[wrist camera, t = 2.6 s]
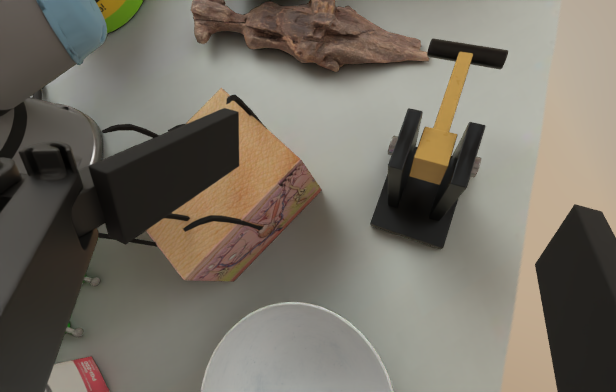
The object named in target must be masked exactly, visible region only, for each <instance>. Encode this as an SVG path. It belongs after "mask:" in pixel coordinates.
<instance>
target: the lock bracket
mask: <svg viewBox="0 0 616 392" xmlns="http://www.w3.org/2000/svg"><path fill="white" fill-rule="evenodd" d="M421 118H422V111H418V110H414V109H408V110H407V113H406V116H405V119H404V122H403V125H402V127H401V130H400V133H399V136H398V137H397V136H393V137H392V140H391V142H390V145H389V149H388V155H392V156H391V159H390V162H389V164H388V175H387V177H386V180H385V183H384V186H383V189H382V192H381V195H380V197H379V200H378V203H377V206H376V209H375V212H374V215H373V217H372V220H371V223H370V224H371V226H373V227H376V228H379V229H382V230H385V231H388V232H391V233H394V234H397V235H400V236H403V237H406V238H408V239H411V240H414V241H417V242H420V243H423V244H426V245H429V246H432V247H435V248H438V249H442V248H443V246H444V243H445V240H446V237H447V233H448V230H449V227H450V224H451V220H452V217H453V214H454V211H455V207H456V204H457V201H458V198H459V196H460V195H461V194H462V193H463V191H464V190H465V189H466V188H467V185H468V182H469V179H470V177H475V176H476V174H477V172H478V169H479V166H480V163H481V158H480V157H477V152H478V149H479V146H480V143H481V139H482V136H483V133H484V129H485V125H481V124H477V123H472V122H469V124H468V126H467V128H466V130H465V132H464V134H463V136H462V138H461V140H460V142H459V144H458V146H457V148H456V150H455V152H454V154H453V156H451V158H450V161H449V165H448V168H447V170H446V172H445V174H444V177H443V179H442V181H441V184H440V185H438V184H435V183H431V182H428V181H424V180H421V179H417V178H414V177H410V176H409V175H410V171H411V167H412V163H413V159H414V156H415V153H416V150H417V147H416V142H417V137H418V132H419V127H420V123H421Z"/></svg>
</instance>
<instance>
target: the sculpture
mask: <svg viewBox="0 0 616 392" xmlns="http://www.w3.org/2000/svg"><path fill="white" fill-rule="evenodd" d="M191 11H192V13H193V16H194V17H193V19H194V22H195V23H194V24H195V27H194V34H195V37H196V39H197V42H198V43H202V44H205V43H207V42H208V41H209V38H210V37H211V35H212V34H214V33H216V32H220V31H233V32H239V33H241V34H243V35H244V38H245V41H246V44H247V46H248V47H249V49H259V48H276V49H281V50H283V51H285V52H287V53H289V54H291V55H292V56H294V57H295V58H296V59H297V60H298V61H300V62H301V63H308V62H315V63H316V64H318V65H320V66H322V67H324V68H327V69H330V70H332V71H335V72H338V71H339V67H342V66H343V65H344V64H362V63H388V62H401V61H406V60H418V61H429V58H428V56H427V53H428V52H423V51H421V50H420V47H421V41H420V40H418V39H416V38H410V37H406V36H403V35H399V34H394V33H390V32H387V31H385V30H384V29H381V28H380V27H378V26H376V25H375V24H373V23H371V22H370V21H368V20H367V19H365V18H364V17H362V16H361V15H359V14H357V12H356V11H355V10H353V9H352V8H351V7H350V6H346V7H345V8H343V7H339V6H338V7H335V0H310V1H309V3H307V4H303V5H299V6H282V5H278V4H276V3H274V2H271V1H268V2H265V3H263V4H261V5H260V6H258V7H256V8H254V9H252V10H251V11H250V12H249V13H247V14H244V15H241V14H238V13H235V12H234V11H232V10H231V9H229V8H228V6H225V1H224V0H193V1H192V6H191Z"/></svg>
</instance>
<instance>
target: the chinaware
mask: <svg viewBox="0 0 616 392" xmlns="http://www.w3.org/2000/svg"><path fill="white" fill-rule="evenodd" d="M200 392H394V391H393V387H392V384H391V381H390V378H389V375H388V373H387V370H386V368H385V366H384V364H383V362H382V360H381V358H380V357H379V355H378V353H377V352H376V350H375V349H374V347H373V346H372V345H371V343H370V342H369V341H368V339H367V338H366V337H365V336H364V335H363V334H362V333H361V332H360V331H359V330H358V329H357V328H356V327H355V326H354V325H353V324H351V323H350V322H349V321H347V320H346V319H345V318H343V317H341V316H340V315H338V314H336V313H334V312H332V311H330V310H328V309H326V308H323V307H320V306H317V305H313V304H309V303H302V302H284V303H277V304H272V305H269V306H266V307H263V308H260V309H258V310H256V311H254V312H252V313H250V314H249V315H247V316H245V317H244V318H243V319H241V320H240V321H239V322H237V323H236V324H235V325H234V326H233V327H232V328H231V329H230V330H229V331H228V332H227V333H226V334H225V336H224V337H223V338H222V340H221V341H220V342H219V344H218V345H217V347H216V349H215V350H214V352H213V354H212V356H211V358H210V360H209V363H208V365H207V368H206V371H205V374H204V377H203V381H202V386H201V391H200Z"/></svg>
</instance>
